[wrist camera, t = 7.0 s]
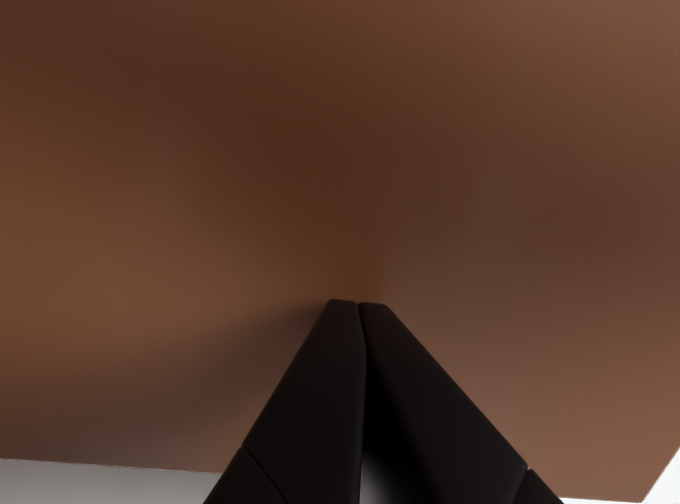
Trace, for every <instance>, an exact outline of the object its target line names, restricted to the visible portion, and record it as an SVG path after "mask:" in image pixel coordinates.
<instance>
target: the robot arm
mask: <svg viewBox="0 0 680 504" xmlns="http://www.w3.org/2000/svg"><path fill="white" fill-rule="evenodd" d="M528 467H529V465H528V463H527V462H526V461H525V460H524V459H523V458H522V457H521V455H520V454H519V453H518V452H517V451H516V450H515V449H514V448H513V446H512V445H511V444H510V443H509V442H508V441H507V440H506V439H505V437H504V436H503V435H502V434H501V433H500V432H499V431H498V429H497V428H496V427H495V426H494V425H493V424H492V423H491V422H490V420H489V419H488V418H487V417H486V416H485V415H484V414H483V413H482V411H481V410H480V409H479V408H478V407H477V406H476V405H475V404H474V402H473V401H472V400H471V399H470V398H469V397H468V396H467V394H466V393H465V392H464V391H463V390H462V389H461V388H460V387H459V385H458V384H457V383H456V382H455V381H454V380H453V379H452V378H451V376H450V375H449V374H448V373H447V372H446V371H445V370H444V369H443V367H442V366H441V365H440V364H439V363H438V362H437V361H436V360H435V358H434V357H433V356H432V355H431V354H430V353H429V352H428V350H427V349H426V348H425V347H424V346H423V345H422V344H421V343H420V341H419V340H418V339H417V338H416V337H415V336H414V335H413V334H412V332H411V331H410V330H409V329H408V328H407V327H406V326H405V325H404V323H403V322H402V321H401V320H400V319H399V318H398V317H397V315H396V314H395V313H394V312H393V311H392V310H391V309H390V308H389V307H388V306H387V305H386V304H381V303H371V302H360V303H359V304H357V303H356V302H355V301H351V300H342V299H330V300H329V301H328V302H327V304H326V305H325V307H324V309H323V310H322V312H321V314H320V315H319V317H318V319H317V320H316V322H315V323H314V325H313V327H312V328H311V330H310V332H309V333H308V335H307V337H306V338H305V340H304V342H303V343H302V345H301V347H300V348H299V350H298V352H297V353H296V355H295V357H294V358H293V360H292V361H291V363H290V365H289V366H288V368H287V370H286V371H285V373H284V375H283V376H282V378H281V380H280V381H279V383H278V385H277V386H276V388H275V390H274V391H273V393H272V394H271V396H270V398H269V399H268V401H267V403H266V404H265V406H264V408H263V409H262V411H261V413H260V414H259V416H258V418H257V419H256V421H255V423H254V424H253V426H252V428H251V429H250V431H249V432H248V434H247V436H246V437H245V439H244V441H243V442H242V444H241V448H239V449H238V450H237V452H236V453H235V455H234V457H233V458H232V460H231V462H230V463H229V465H228V466H227V468H226V470H225V471H224V473H223V474H222V476H221V477H220V479H219V480H218V482H217V483H216V485H215V486H214V488H213V489H212V491H211V493H210V494H209V496H208V497H207V499H206V500H205V502H204V503H203V504H564V503H563V502H562V501H561V500H560V499H559V498H558V497H557V496H556V494H555V493H554V492H553V491H552V490H551V489H550V488H549V487H548V486H547V484H546V483H545V482H544V481H543V480H542V479H541V478H540V477H539V475H538V474H537V473H536V472H535V471H534V470H533V469H528ZM527 470H528V471H527Z"/></svg>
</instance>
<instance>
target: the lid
mask: <svg viewBox="0 0 680 504" xmlns="http://www.w3.org/2000/svg"><path fill="white" fill-rule="evenodd" d="M330 299H342V300H351V301H355V302H356V303H357V304H359V303H360V302H371V303H381V304H386V305H387V306H388V307H389V308H390V309H391V310H392V311H393V312H394V313H395V314H396V315H397V317H398V318H399V319H400V320H401V321H402V322H403V323H404V325H405V326H406V327H407V328H408V329H409V330H410V331H411V332H412V334H413V335H414V336H415V337H416V338H417V339H418V340H419V341H420V343H421V344H422V345H423V346H424V347H425V348H426V349H427V350H428V352H429V353H430V354H431V355H432V356H433V357H434V358H435V360H436V361H437V362H438V363H439V364H440V365H441V366H442V367H443V369H444V370H445V371H446V372H447V373H448V374H449V375H450V376H451V378H452V379H453V380H454V381H455V382H456V383H457V384H458V385H459V387H460V388H461V389H462V390H463V391H464V392H465V393H466V394H467V396H468V397H469V398H470V399H471V400H472V401H473V402H474V404H475V405H476V406H477V407H478V408H479V409H480V410H481V411H482V413H483V414H484V415H485V416H486V417H487V418H488V419H489V420H490V422H491V423H492V424H493V425H494V426H495V427H496V428H497V429H498V431H499V432H500V433H501V434H502V435H503V436H504V437H505V439H506V440H507V441H508V442H509V443H510V444H511V445H512V446H513V448H514V449H515V450H516V451H517V452H518V453H519V454H520V455H521V457H522V458H523V459H524V460H525V461H526V462H527V463H528V465H529V467H528V469H533V470H534V471H535V472H536V473H537V474H538V475H539V477H540V478H541V479H542V480H543V481H544V482H545V483H546V484H547V486H548V487H549V488H550V489H551V490H552V491H553V492H554V493H555V494H556V496H557V497H559V498H573V499H588V500H602V501H617V502H631V503H641V502H643V501H644V499H645V498H646V497H647V495H648V494H649V492H650V491H651V489H652V488H653V486H654V485H655V483H656V482H657V480H658V479H659V478H660V476H661V475H662V473H663V472H664V470H665V469H666V467H667V466H668V464H669V463H670V461H671V460H672V459H673V457H674V456H675V454H676V453H677V451H678V450H679V448H680V0H0V459H10V460H24V461H39V462H53V463H68V464H82V465H97V466H111V467H125V468H140V469H154V470H169V471H183V472H198V473H212V474H223V473H224V471H225V470H226V468H227V466H228V465H229V463H230V462H231V460H232V458H233V457H234V455H235V453H236V452H237V450H238V449H239V448H241V444H242V442H243V441H244V439H245V437H246V436H247V434H248V432H249V431H250V429H251V428H252V426H253V424H254V423H255V421H256V419H257V418H258V416H259V414H260V413H261V411H262V409H263V408H264V406H265V404H266V403H267V401H268V399H269V398H270V396H271V394H272V393H273V391H274V390H275V388H276V386H277V385H278V383H279V381H280V380H281V378H282V376H283V375H284V373H285V371H286V370H287V368H288V366H289V365H290V363H291V361H292V360H293V358H294V357H295V355H296V353H297V352H298V350H299V348H300V347H301V345H302V343H303V342H304V340H305V338H306V337H307V335H308V333H309V332H310V330H311V328H312V327H313V325H314V323H315V322H316V320H317V319H318V317H319V315H320V314H321V312H322V310H323V309H324V307H325V305H326V304H327V302H328V301H329V300H330ZM527 471H528V470H527Z"/></svg>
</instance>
